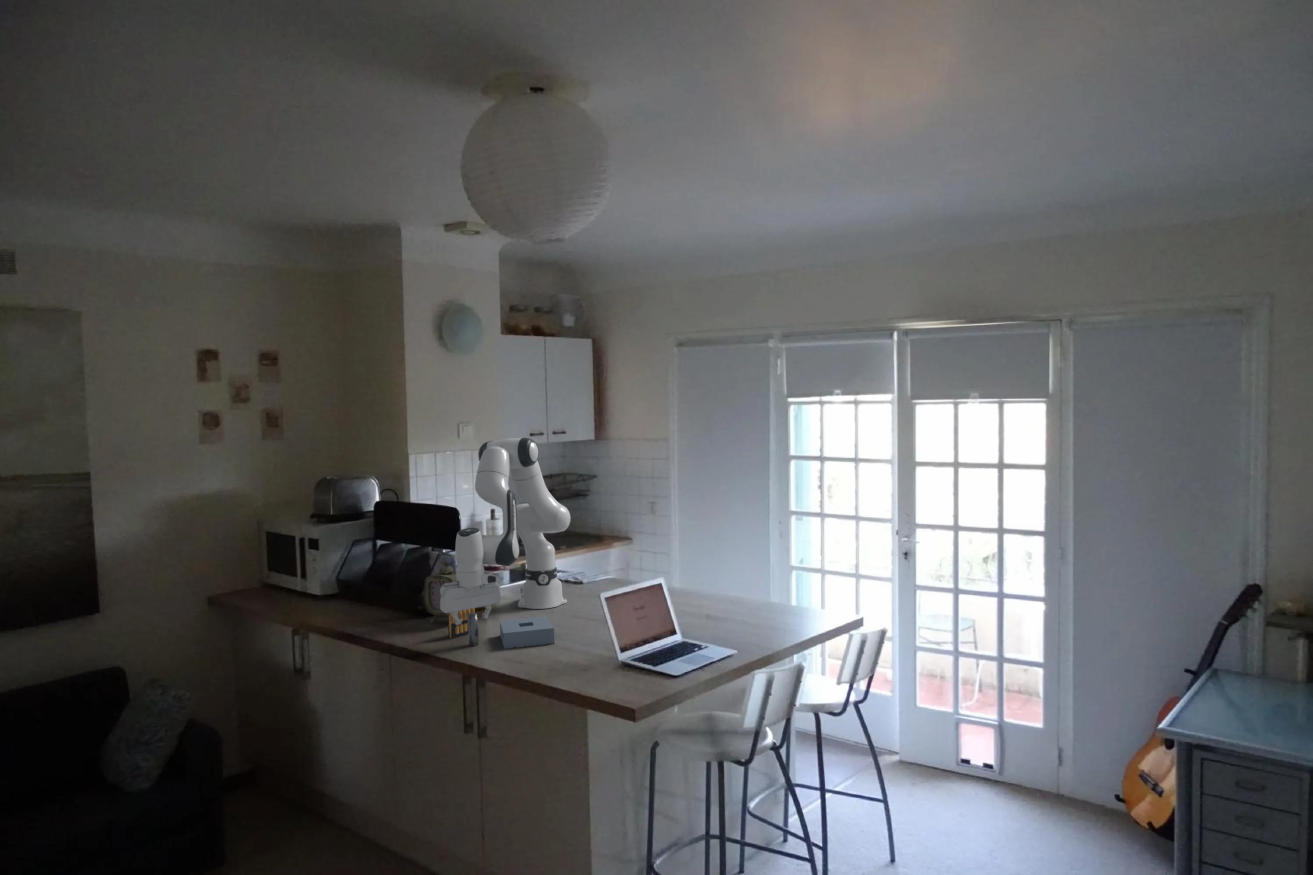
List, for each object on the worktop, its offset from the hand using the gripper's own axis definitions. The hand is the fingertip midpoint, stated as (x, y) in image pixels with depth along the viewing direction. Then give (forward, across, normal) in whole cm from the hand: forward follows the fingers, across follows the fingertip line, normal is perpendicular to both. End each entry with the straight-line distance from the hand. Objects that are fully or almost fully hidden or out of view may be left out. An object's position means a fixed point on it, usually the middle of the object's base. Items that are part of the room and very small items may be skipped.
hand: (472, 621), depth 274 cm
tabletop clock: (+8, +7, +33) cm, 35 cm away
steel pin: (+8, 0, 0) cm, 8 cm away
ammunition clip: (+8, +3, +14) cm, 17 cm away
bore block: (+8, +16, -7) cm, 19 cm away
